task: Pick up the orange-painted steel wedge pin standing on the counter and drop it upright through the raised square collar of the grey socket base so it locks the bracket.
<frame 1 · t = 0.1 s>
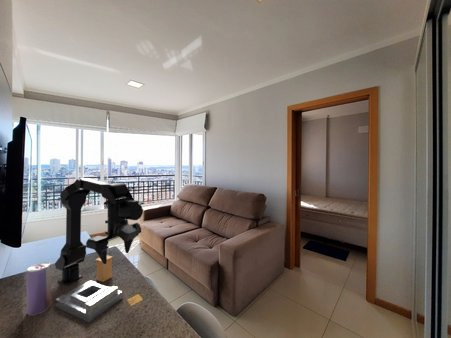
hand: (116, 258, 73), 15 cm above the countertop, fingers open, 9 cm apart
wedge pin: (104, 278, 84), on the countertop
grey socket base: (89, 302, 70), on the countertop
beverage can: (39, 310, 66), on the countertop
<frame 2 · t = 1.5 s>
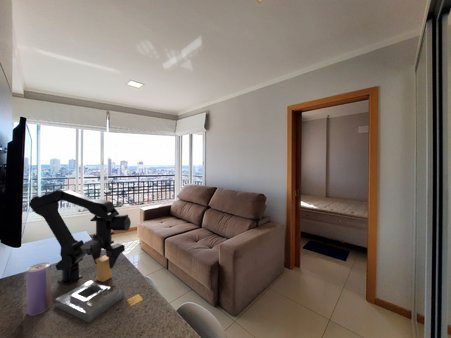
hand: (103, 266, 84), 5 cm above the countertop, fingers open, 9 cm apart
nothing on the countertop moved.
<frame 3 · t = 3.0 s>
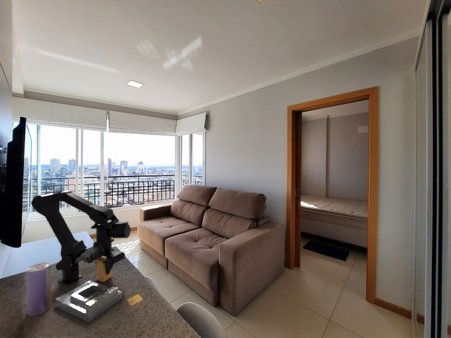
hand: (104, 273, 84), 2 cm above the countertop, fingers closed on wedge pin, 4 cm apart
wedge pin: (104, 278, 84), on the countertop, touching gripper
everything else where it was.
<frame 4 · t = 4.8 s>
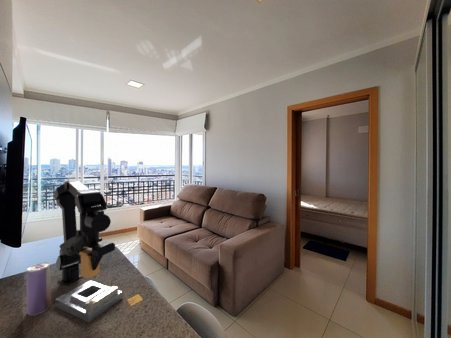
hand: (90, 268, 70), 12 cm above the countertop, fingers closed on wedge pin, 4 cm apart
wedge pin: (90, 274, 70), point 10 cm above the countertop, touching gripper
everything else where it was.
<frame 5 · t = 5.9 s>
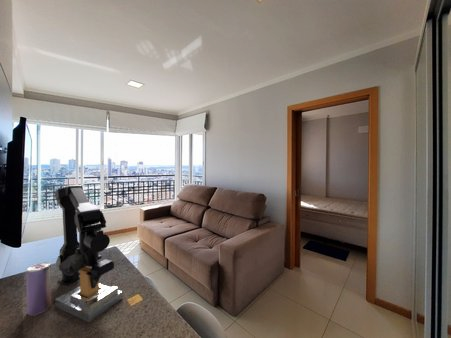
hand: (89, 286, 70), 6 cm above the countertop, fingers closed on wedge pin, 4 cm apart
wedge pin: (89, 292, 70), point 4 cm above the countertop, touching gripper
everything else where it was.
when the fingers open (5 cm above the countertop, at t = 6.8 s): wedge pin drops 3 cm, resting in grey socket base.
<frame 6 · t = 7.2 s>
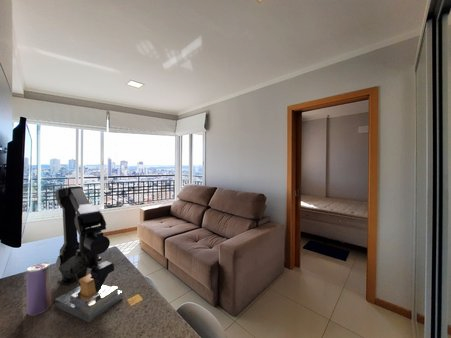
hand: (89, 288, 70), 5 cm above the countertop, fingers open, 9 cm apart
wedge pin: (90, 301, 70), resting in grey socket base
everything else where it was.
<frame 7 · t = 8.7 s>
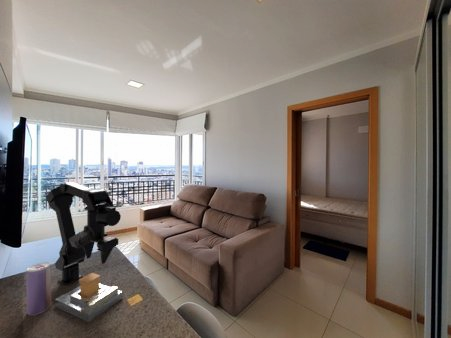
hand: (95, 260, 76), 12 cm above the countertop, fingers open, 9 cm apart
nothing on the countertop moved.
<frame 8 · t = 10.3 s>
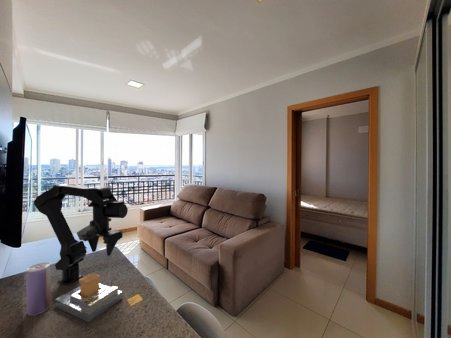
hand: (101, 253, 82), 12 cm above the countertop, fingers open, 9 cm apart
nothing on the countertop moved.
at the end: wedge pin 0.1 cm off-centre on the grey socket base, point 0.0 cm above the grey socket base's base; wedge pin tilted 0°; the gripper is holding nothing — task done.
